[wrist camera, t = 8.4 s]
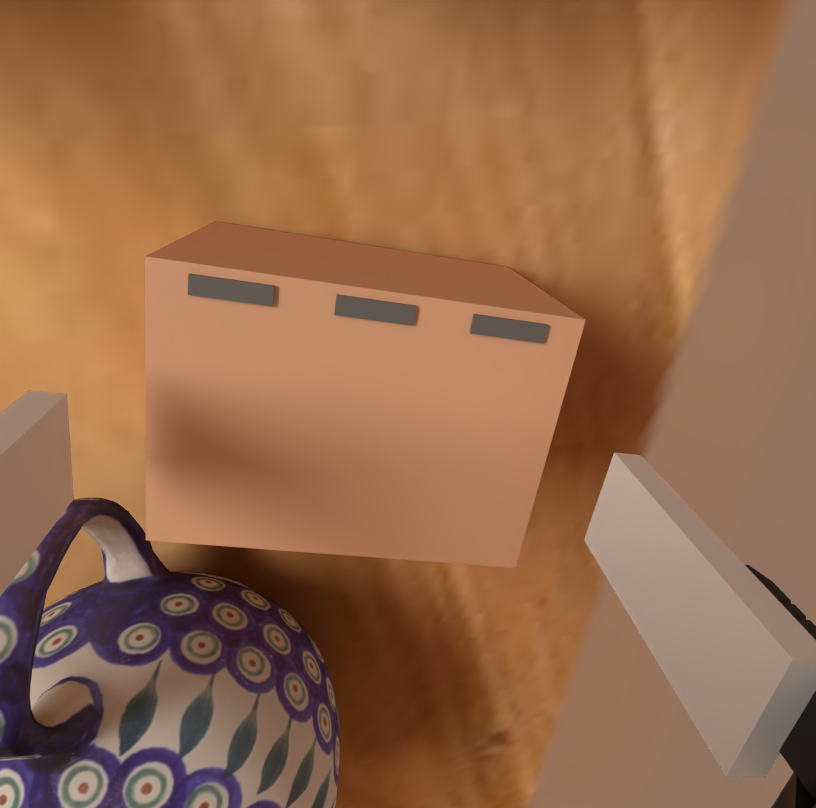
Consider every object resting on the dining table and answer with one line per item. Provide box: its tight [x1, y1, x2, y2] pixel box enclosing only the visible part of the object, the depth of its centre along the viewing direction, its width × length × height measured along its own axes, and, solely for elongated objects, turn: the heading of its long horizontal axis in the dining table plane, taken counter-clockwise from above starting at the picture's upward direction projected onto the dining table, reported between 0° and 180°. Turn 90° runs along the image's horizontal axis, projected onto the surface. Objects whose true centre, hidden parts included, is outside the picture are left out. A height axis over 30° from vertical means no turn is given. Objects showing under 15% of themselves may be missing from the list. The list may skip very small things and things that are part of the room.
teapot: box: [0, 498, 340, 808], centre depth 22 cm, size 25×15×15 cm, turn 0°
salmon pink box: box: [145, 221, 586, 568], centre depth 20 cm, size 8×11×8 cm
